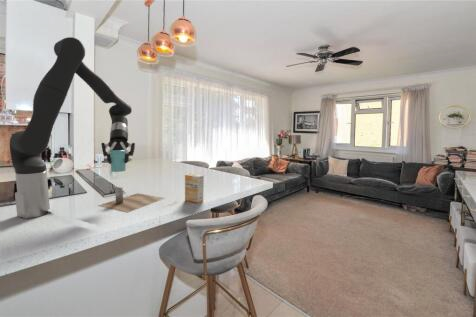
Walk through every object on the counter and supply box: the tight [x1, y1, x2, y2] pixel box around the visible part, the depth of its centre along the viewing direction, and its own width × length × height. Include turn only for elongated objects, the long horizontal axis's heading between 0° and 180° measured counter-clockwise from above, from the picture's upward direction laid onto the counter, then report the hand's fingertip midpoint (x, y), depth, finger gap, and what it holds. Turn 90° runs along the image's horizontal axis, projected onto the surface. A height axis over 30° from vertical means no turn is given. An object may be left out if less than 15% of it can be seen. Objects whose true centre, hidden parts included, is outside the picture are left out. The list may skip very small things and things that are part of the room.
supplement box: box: [184, 172, 205, 204], centre depth 115 cm, size 8×5×13 cm, turn 62°
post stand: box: [97, 186, 165, 214], centre depth 107 cm, size 22×18×8 cm
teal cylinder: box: [110, 150, 127, 173], centre depth 103 cm, size 6×6×9 cm
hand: (117, 162), depth 101 cm, fingers closed on teal cylinder, 5 cm apart
